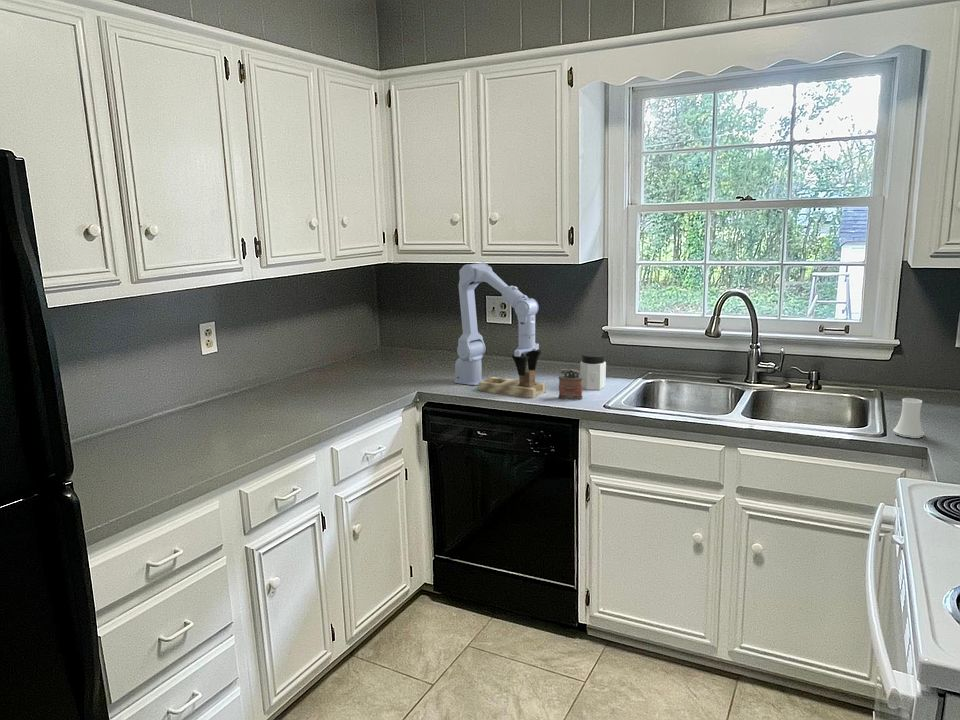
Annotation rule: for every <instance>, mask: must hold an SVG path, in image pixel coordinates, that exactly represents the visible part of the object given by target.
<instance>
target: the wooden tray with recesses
mask: <svg viewBox="0 0 960 720" xmlns="http://www.w3.org/2000/svg"><path fill="white" fill-rule="evenodd" d="M478 391H480V392H485V391H486V393H495V394H500V393H501V395H510V396H515V397H521V396H522V397H523V398H528V397H529V399H535V398H536V397H538V396H540V395H542V394H543V393H546V383H545V382H537V381H535V386H533V387H531V388H530V387H522V386H519V379H515V378H513V379H512V378H506V377H497V376H490V377H488V378H486V379H484V380H483V381H481V382H479V384H478ZM522 397H521V398H522Z"/></svg>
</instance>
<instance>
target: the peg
mask: <svg viewBox="0 0 960 720" xmlns="http://www.w3.org/2000/svg"><path fill="white" fill-rule="evenodd" d="M518 377H519V378H518V380H519V386H522V387H530V388H531V387H533V386H535V382H536V369H535V370H529V369H526V372H525V376H520V375H519V374H518Z"/></svg>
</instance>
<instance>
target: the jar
mask: <svg viewBox="0 0 960 720" xmlns="http://www.w3.org/2000/svg"><path fill="white" fill-rule="evenodd" d="M605 359H606V354H605V353H603V352H599V351H598V352H597V351H596V352H595V351H592V352H590V351H589V352H583V353H582V354H581V361H580V365H579V366H580V370H579V376H581V377H583V380H582V389H584V390H587V391H600V390H602V389H605V388H606V382H607V381H606V380H607V378H606V373H607V372H606V371H607V362H606V360H605Z"/></svg>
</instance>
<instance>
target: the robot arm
mask: <svg viewBox="0 0 960 720" xmlns="http://www.w3.org/2000/svg"><path fill="white" fill-rule="evenodd" d="M458 271H459V273H458V274H459V275H458V276H459V281H458V293H459V294H458V295H459V305H460V315H461V327H462V334H461V336H460V337H459V338H458V340H457V341H458V343H457V344H458V345H457V347H456V353H457V355H458V358H457V359H456V360H455V363H454V364H455V365H454V382H453V383H455V384H462V385H470V386H479V382H481V381H483V380H485V379H483V378H482V377H483V373H482V372H483V370H482V367H483V366H482V359H483V356H484V355H485V353H486V344H485V342H484V337H483V335H481V333H480V332H479V331H478V321H477V320H478V318H477V308H476V307H477V306H476V297H475V296H476V295H475V289H476V288H477V287H478V286H479V284H481V283H484V282H485V283H487V284H488V285H490V286H491V287H492V288H494V289H495V290H496V291H498V292H499V293H500V294H501V299H503V300H504V301H505V302H506V303H507V304H508V305H509V306H511V307H512V308H513V309H514V312H515V314H516V316H517V322H518V347H517V348H516V349H515V350H514V351H513V352H514V353H513V354H512V355H511V358H512V360H513V362H514V364H515V366H516V370H517V374H518V376H519V375H520V376H525V372H526V368H528V369H527V370H535V371H536V368H537V363H538V360H539V358H540V356H541V354H542V350H541V349H540V344H539V343H536V315H537V314H538V312H539V310H540V309H539V308H540V307H539V304H538V301H537V300H536V299H535V298H533V297H532V298H531V297H530V298H529V297H528V295H526V294H524V293H522V292H521V291H520V290H519V287H517V286H514V285H508V284H507V283H506V282H505V281H504V280H503V279H502V278H501V277H499V276H498V275H497V273H495V272H494V271H493V268H492V266H490V265H489V264H488V263H486V262H479V263H471V264H470V263H469V264H468V263H467V264H464V265H463V266H462V267H461V268H460V269H459V270H458Z"/></svg>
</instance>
